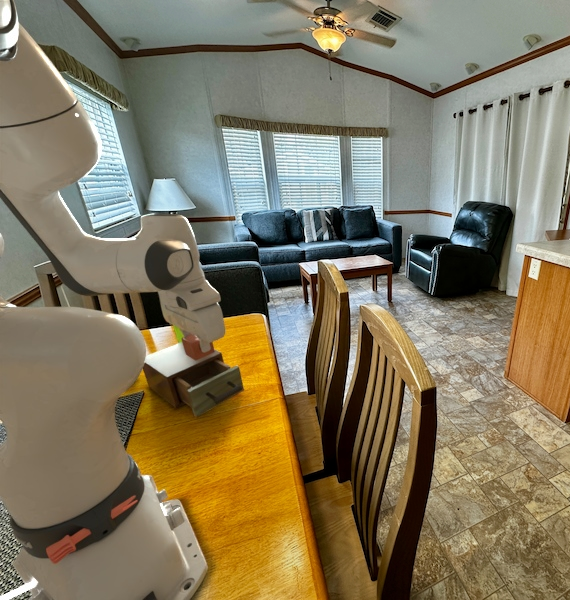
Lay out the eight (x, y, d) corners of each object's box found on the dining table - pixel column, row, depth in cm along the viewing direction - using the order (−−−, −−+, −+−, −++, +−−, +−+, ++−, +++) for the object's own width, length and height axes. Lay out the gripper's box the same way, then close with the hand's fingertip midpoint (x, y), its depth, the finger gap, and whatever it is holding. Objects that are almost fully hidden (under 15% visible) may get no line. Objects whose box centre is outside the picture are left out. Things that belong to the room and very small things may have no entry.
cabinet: (228, 381, 87) (221, 352, 84) (176, 408, 77) (166, 377, 74) (199, 364, 95) (192, 337, 91) (149, 387, 85) (139, 358, 82)
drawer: (256, 397, 80) (251, 373, 77) (208, 426, 70) (201, 400, 68) (214, 373, 89) (209, 351, 86) (168, 396, 80) (160, 372, 77)
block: (215, 352, 76) (211, 335, 74) (195, 360, 73) (190, 343, 71) (205, 346, 78) (200, 330, 77) (185, 354, 75) (180, 338, 73)
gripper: (145, 286, 73) (162, 340, 78) (192, 305, 62) (208, 367, 67) (176, 278, 77) (190, 330, 83) (224, 295, 67) (237, 353, 72)
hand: (198, 347), depth 75 cm, fingers closed on block, 4 cm apart
